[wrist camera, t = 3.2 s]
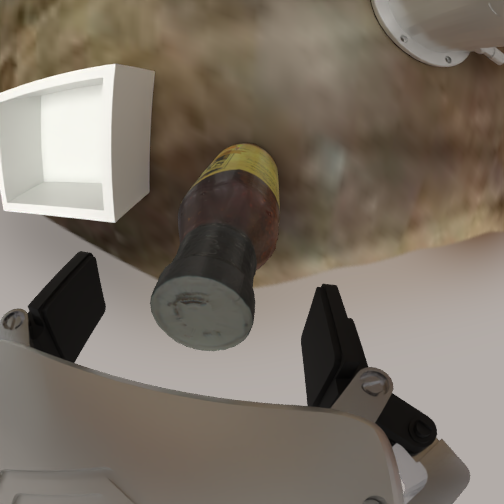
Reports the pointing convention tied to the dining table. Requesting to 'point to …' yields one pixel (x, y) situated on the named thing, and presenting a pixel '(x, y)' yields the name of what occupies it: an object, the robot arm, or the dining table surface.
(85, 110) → the storage box
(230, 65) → the dining table surface
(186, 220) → the sauce bottle
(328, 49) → the dining table surface
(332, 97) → the dining table surface
